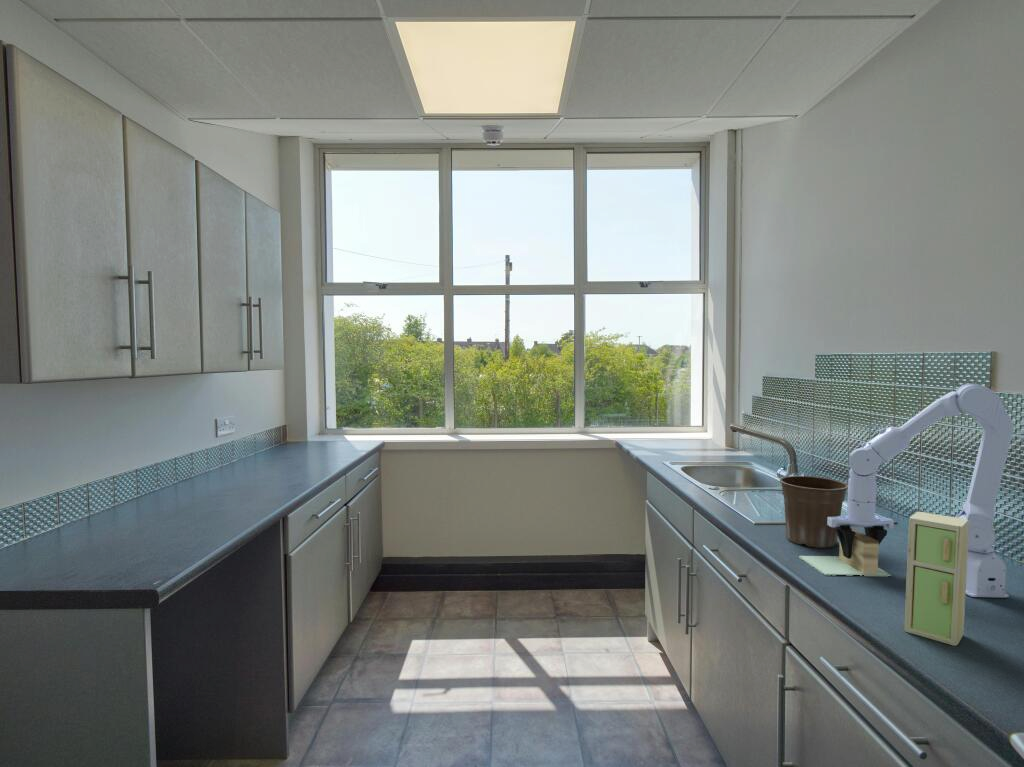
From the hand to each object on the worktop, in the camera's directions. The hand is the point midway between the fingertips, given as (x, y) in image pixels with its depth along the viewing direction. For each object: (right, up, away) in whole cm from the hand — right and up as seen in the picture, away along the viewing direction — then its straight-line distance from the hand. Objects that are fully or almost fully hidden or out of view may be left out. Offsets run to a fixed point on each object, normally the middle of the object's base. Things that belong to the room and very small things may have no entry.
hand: (858, 557), depth 141 cm
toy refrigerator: (-6, -5, -33) cm, 34 cm away
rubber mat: (-3, -3, +1) cm, 4 cm away
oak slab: (0, -2, 0) cm, 2 cm away
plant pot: (-1, -2, +20) cm, 20 cm away
